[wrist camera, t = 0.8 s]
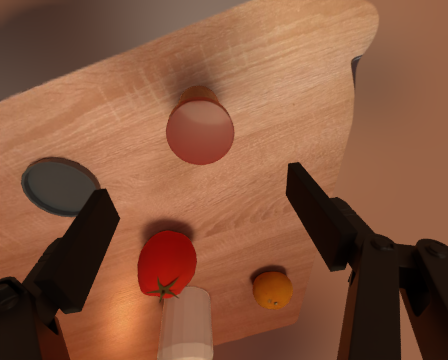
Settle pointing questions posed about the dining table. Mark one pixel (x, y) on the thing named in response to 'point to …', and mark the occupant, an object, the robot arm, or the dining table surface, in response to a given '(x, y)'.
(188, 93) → the jar
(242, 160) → the dining table surface
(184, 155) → the lid
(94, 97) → the dining table surface
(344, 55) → the dining table surface
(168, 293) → the tomato
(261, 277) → the fruit
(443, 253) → the robot arm
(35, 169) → the saucer
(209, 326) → the container
